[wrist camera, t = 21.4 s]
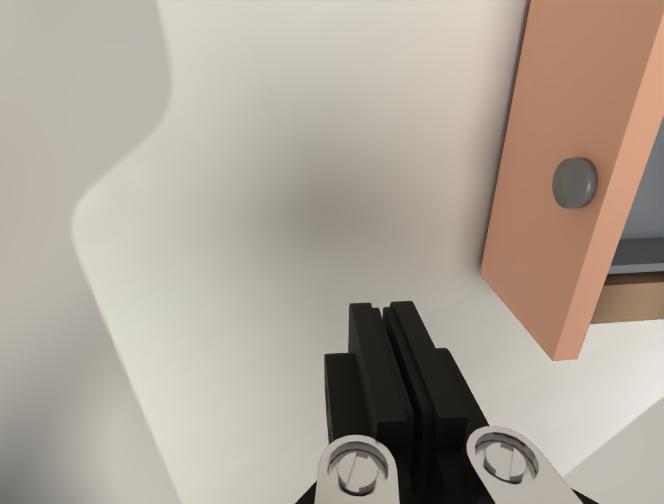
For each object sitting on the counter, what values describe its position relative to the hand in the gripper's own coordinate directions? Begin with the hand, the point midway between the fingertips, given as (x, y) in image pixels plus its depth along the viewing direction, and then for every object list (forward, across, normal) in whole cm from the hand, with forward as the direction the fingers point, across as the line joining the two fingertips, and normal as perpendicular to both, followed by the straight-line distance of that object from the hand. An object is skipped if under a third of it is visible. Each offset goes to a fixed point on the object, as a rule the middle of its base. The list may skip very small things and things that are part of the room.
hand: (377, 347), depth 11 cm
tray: (+13, -19, -3) cm, 24 cm away
